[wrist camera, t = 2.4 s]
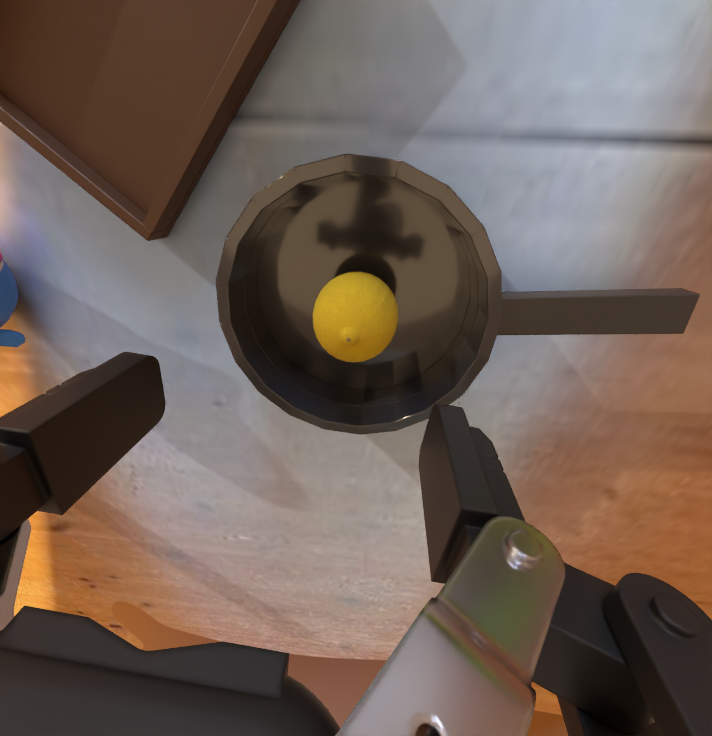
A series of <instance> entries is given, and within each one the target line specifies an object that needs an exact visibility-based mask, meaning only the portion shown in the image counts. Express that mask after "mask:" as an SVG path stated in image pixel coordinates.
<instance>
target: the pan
mask: <svg viewBox="0 0 712 736" xmlns="http://www.w3.org/2000/svg"><path fill="white" fill-rule="evenodd" d="M358 271H361V272H365V273H370V274H372V275H374V276H376V277H378V278H380V279H381V280H382V281H383V282H384V283H385V284H386V285H388V287H389V288H390V290H391V291H392V293H393V294H394V297H395V300H396V303H397V306H398V323H397V328H396V332H395V334H394V336H393V338H392V340H391V342H390V343H389V345H388V346H387V347H386V348H385V349H384V350H383V351H382V352H381V353H380V354H378V355H377V356H375V357H374V358H371V359H369V360H366V361H362V362H346V361H343V360H340V359H337V358H335V357H334V356H332V355H330V354H329V353H328V352H327V351H326V350H325V349H324V348H323V347H322V346H321V344H320V342H319V341H318V339H317V337H316V334H315V331H314V328H313V310H314V305H315V301H316V299H317V297H318V295H319V293H320V291H321V290H322V289H323V288H324V286H325V285H326V284H327V283H328V282H329V281H331V280H332V279H334V278H335V277H337V276H339V275H341V274H344V273H348V272H358ZM216 289H217V300H218V311H219V322H220V325H221V328H222V330H223V333H224V335H225V338H226V340H227V343H228V345H229V347H230V350H231V352H232V355H233V357H234V360H235V362H236V363H237V365H238V366H239V367H240V368H241V370H242V371H243V372H244V373H245V375H246V376H247V377H248V379H249V380H250V381H251V382H252V384H253V385H254V386H255V388H256V389H257V390H258V391H259V392H260V393H261V394H262V395H264V396H265V397H266V398H268V399H269V400H270V401H272V402H273V403H274V404H276V405H277V406H278V407H280V408H281V409H282V410H284V411H285V412H286V413H288V414H290V415H291V416H294V417H296V418H298V419H301V420H303V421H306V422H308V423H310V424H313V425H315V426H318V427H320V428H322V429H327V430H333V431H340V432H347V433H354V434H370V433H379V432H389V431H397V430H399V429H402V428H405V427H407V426H410V425H413V424H415V423H418V422H420V421H423V420H426V419H428V418H429V417H430V414H431V410H432V408H433V405H434V404H435V403H437V404H443V405H449V404H451V403H452V402H453V401H455V400H456V399H457V398H459V397H460V396H461V395H463V393H465V391H466V390H467V389H468V387H469V386H470V385H471V383H472V382H473V380H474V379H475V378H476V376H477V375H478V374H479V372H480V371H481V370H482V368H483V367H484V366H485V364H486V363H487V361H488V360H489V357H490V354H491V351H492V348H493V345H494V342H495V339H496V336H497V333H498V330H499V327H500V324H501V321H502V320H501V319H502V283H501V270H500V268H499V265H498V262H497V260H496V257H495V254H494V252H493V249H492V246H491V244H490V241H489V238H488V236H487V233H486V230H485V228H484V227H483V225H482V223H481V222H480V221H479V220H478V219H477V218H476V216H475V215H474V214H473V213H472V212H471V211H470V210H469V208H468V207H467V206H466V205H465V204H464V203H463V202H462V200H461V199H460V198H459V197H458V196H457V195H456V193H455V192H454V191H453V190H452V189H451V188H450V187H449V186H448V185H446V184H444V183H442V182H440V181H439V180H437V179H435V178H433V177H431V176H429V175H427V174H425V173H424V172H422V171H420V170H418V169H416V168H414V167H412V166H410V165H409V164H407V163H405V162H403V161H400V160H395V159H386V158H378V157H370V156H362V155H353V154H342V155H338V156H335V157H331V158H327V159H323V160H319V161H315V162H311V163H308V164H304V165H300V166H296V167H294V168H292V169H290V170H289V171H287V172H286V173H285V174H283V175H282V176H281V177H279V178H278V179H276V180H275V181H274V182H272V183H271V184H270V185H268V186H267V187H265V188H264V189H263V190H261V191H260V192H258V193H257V194H256V195H254V196H253V198H252V199H251V200H250V202H249V203H248V205H247V206H246V208H245V209H244V211H243V212H242V214H241V215H240V217H239V218H238V220H237V221H236V223H235V225H234V226H233V228H232V229H231V231H230V232H229V234H228V235H227V238H226V240H225V244H224V248H223V252H222V257H221V261H220V265H219V269H218V273H217V278H216Z"/></svg>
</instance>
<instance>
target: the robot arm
mask: <svg viewBox="0 0 712 736" xmlns="http://www.w3.org/2000/svg"><path fill="white" fill-rule="evenodd" d="M164 410H165V397H164V391H163V384H162V378H161V372H160V366H159V362H158V360H157V359H156V358H155V357H154V356H149V355H143V354H137V353H131V352H123V353H121V354H119V355H117V356H115V357H114V358H112V359H110V360H108V361H107V362H105V363H103V364H101V365H100V366H98V367H96V368H93V369H90V370H87V371H84V372H81V373H79V374H77V375H75V376H74V377H72V378H70V379H68V380H66V381H65V382H63V383H62V385H61V386H60V385H57V386H56V387H54V388H52V389H50V390H48V391H47V392H46V394H41V395H40V396H38V397H36V398H34V399H32V400H31V401H29V402H27V403H25V404H23V405H22V406H20V407H18V408H16V409H14V410H13V411H11V412H9V413H7V414H6V415H4V416H2V417H0V736H527V733H528V729H529V726H530V723H531V719H532V715H533V711H534V707H535V701H536V692H535V690H534V689H533V688H532V687H531V682H532V681H533V682H534V683H536V684H538V685H540V686H541V687H543V688H545V689H547V690H548V691H550V692H552V693H553V694H555V695H557V698H558V701H559V705H560V708H561V711H562V715H563V718H564V722H565V725H566V728H567V732H568V735H569V736H712V620H711V619H710V618H709V617H708V616H707V615H706V614H705V613H704V611H702V610H701V609H700V608H699V607H698V606H697V605H696V604H695V603H694V602H693V601H692V600H690V599H689V598H688V597H687V596H685V595H684V594H683V593H681V592H680V591H678V590H677V589H675V588H674V587H672V586H671V585H669V584H667V583H665V582H663V581H661V580H660V579H657V578H655V577H652V576H649V575H646V574H641V573H630V574H627V575H625V576H624V577H622V579H621V580H620V581H619V582H618V583H617V584H616V585H615V586H614V585H612V584H610V583H607V582H605V581H603V580H601V579H599V578H596V577H594V576H592V575H590V574H587V573H585V572H583V571H581V570H579V569H576V568H574V567H572V566H570V565H568V564H566V563H565V562H563V560H562V557H561V555H560V553H559V552H558V550H557V548H556V547H555V546H554V545H553V543H552V542H551V541H550V540H549V539H548V538H547V537H546V536H545V535H544V534H543V533H542V532H540V531H539V530H538V529H536V528H535V527H533V526H532V525H530V524H528V523H526V522H525V519H524V517H523V515H522V512H521V510H520V508H519V505H518V503H517V500H516V498H515V496H514V493H513V491H512V489H511V486H510V484H509V481H508V479H507V477H506V474H505V473H504V472H503V467H502V465H501V462H500V460H498V455H497V453H496V451H495V448H494V446H493V443H492V442H491V441H490V439H489V438H488V437H487V436H486V435H485V434H484V433H483V432H482V431H481V430H480V429H479V428H474V427H469V424H468V421H467V418H466V415H465V413H464V410H463V408H461V407H455V406H449V405H443V404H437V403H435V404H434V405H433V408H432V410H431V414H430V417H429V420H428V424H427V427H426V431H425V434H424V438H423V441H422V444H421V449H420V455H419V472H420V481H421V490H422V499H423V508H424V518H425V527H426V536H427V545H428V554H429V564H430V573H431V581H433V582H438V583H444V584H445V585H444V587H443V588H442V590H441V591H440V592H439V594H438V595H437V596H436V598H431V599H430V600H429V601H428V603H427V604H426V605H425V607H424V608H423V609H422V611H421V612H420V614H419V615H418V616H417V618H416V619H415V621H414V622H413V624H412V625H411V627H410V628H409V630H408V631H407V632H406V634H405V635H404V637H403V638H402V640H401V641H400V643H399V644H398V646H397V647H396V648H395V650H394V651H393V653H392V654H391V656H390V657H389V659H388V660H387V661H386V663H385V665H384V666H383V667H382V669H381V670H380V672H379V673H378V675H377V676H376V678H375V679H374V680H373V682H372V683H371V685H370V686H369V688H368V689H367V691H366V692H365V693H364V695H363V696H362V698H361V699H360V701H359V702H358V704H357V705H356V707H355V708H354V710H353V711H352V712H351V714H350V715H349V717H348V718H347V720H346V721H345V722H344V724H343V725H342V727H341V728H340V727H339V725H338V724H337V723H336V721H335V720H334V718H333V717H332V715H331V714H330V712H329V711H328V709H327V708H326V707H325V706H324V705H323V704H322V702H321V701H320V700H319V699H318V698H317V697H316V696H315V695H314V694H313V693H312V692H311V691H310V690H308V689H307V688H306V687H305V686H304V685H303V684H301V683H300V682H298V681H296V680H295V679H293V678H292V677H290V676H288V675H287V673H288V662H289V653H284V652H278V651H273V650H267V649H261V648H256V647H250V646H245V645H239V644H234V643H228V642H217V643H209V644H201V645H193V646H186V647H178V648H170V649H162V650H155V651H144V650H140V649H138V648H137V647H135V646H133V645H132V644H130V643H129V642H127V641H125V640H124V639H122V638H121V637H119V636H117V635H116V634H114V633H113V632H111V631H110V630H108V629H106V628H105V627H103V626H102V625H100V624H98V623H97V622H95V621H94V620H92V619H91V618H89V617H84V616H79V615H73V614H68V613H62V612H57V611H51V610H45V609H40V608H34V607H29V606H24V607H23V608H22V609H21V610H20V611H19V612H18V613H17V614H16V616H15V617H14V603H15V599H16V594H17V590H18V585H19V581H20V576H21V572H22V568H23V563H24V559H25V554H26V550H27V545H28V541H29V536H30V532H31V525H30V522H29V520H28V518H29V517H30V516H31V515H33V514H34V513H35V512H36V511H42V512H48V513H53V514H59V515H63V514H64V513H65V512H66V511H67V510H68V509H69V508H70V507H71V506H72V505H73V504H74V503H75V502H76V501H77V500H78V499H80V498H81V497H82V496H83V495H84V494H85V493H86V492H87V491H88V490H89V489H90V488H91V487H92V486H93V485H94V484H95V483H96V482H97V481H98V480H99V479H100V478H101V477H102V476H103V475H104V474H105V473H107V472H108V471H109V470H110V469H111V468H112V467H113V466H114V465H115V464H116V463H117V462H118V461H119V460H120V459H121V458H122V457H123V456H124V455H125V454H126V453H127V452H128V451H129V450H130V449H131V448H133V447H134V446H135V445H136V444H137V443H138V442H139V441H140V440H141V439H142V438H143V437H144V436H145V435H146V434H147V433H148V432H149V431H150V430H151V429H152V428H153V427H154V426H155V425H156V424H157V423H158V422H159V421H160V420H161V418H162V416H163V413H164Z"/></svg>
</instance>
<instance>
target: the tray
mask: <svg viewBox="0 0 712 736" xmlns="http://www.w3.org/2000/svg"><path fill="white" fill-rule="evenodd" d="M299 1H300V0H0V122H2V123H3V124H4V125H5V126H7V127H8V128H9V129H10V130H12V131H13V132H14V133H15V134H16V135H18V136H19V137H20V138H21V139H23V140H24V141H25V142H26V143H28V144H29V145H30V146H31V147H33V148H34V149H35V150H36V151H37V152H39V153H40V154H41V155H42V156H44V157H45V158H46V159H47V160H49V161H50V162H51V163H52V164H53V165H55V166H56V167H57V168H58V169H60V170H61V171H62V172H63V173H65V174H66V175H67V176H68V177H70V178H71V179H72V180H73V181H74V182H76V183H77V184H78V185H79V186H81V187H82V188H83V189H84V190H86V191H87V192H88V193H89V194H90V195H92V196H93V197H94V198H95V199H97V200H98V201H99V202H100V203H102V204H103V205H104V206H105V207H107V208H108V209H109V210H110V211H111V212H113V213H114V214H115V215H116V216H118V217H119V218H120V219H121V220H123V221H124V222H125V223H126V224H128V225H129V226H130V227H131V228H132V229H134V230H135V231H136V232H137V233H139V234H140V235H141V236H142V237H144V238H145V239H146V240H148V241H150V240H155V239H161V238H166V237H167V236H168V234H169V232H170V230H171V228H172V227H173V225H174V223H175V221H176V220H177V218H178V216H179V214H180V212H181V211H182V209H183V207H184V205H185V204H186V202H187V200H188V198H189V196H190V195H191V193H192V191H193V189H194V188H195V186H196V184H197V182H198V180H199V179H200V177H201V175H202V173H203V172H204V170H205V168H206V166H207V164H208V163H209V161H210V159H211V157H212V156H213V154H214V152H215V150H216V148H217V147H218V145H219V143H220V141H221V140H222V138H223V136H224V134H225V132H226V131H227V129H228V127H229V125H230V124H231V122H232V120H233V118H234V116H235V115H236V113H237V111H238V109H239V108H240V106H241V104H242V102H243V100H244V99H245V97H246V95H247V93H248V92H249V90H250V88H251V86H252V85H253V83H254V81H255V79H256V77H257V76H258V74H259V72H260V70H261V69H262V67H263V65H264V63H265V61H266V60H267V58H268V56H269V54H270V53H271V51H272V49H273V47H274V45H275V44H276V42H277V40H278V38H279V37H280V35H281V33H282V31H283V29H284V28H285V26H286V24H287V22H288V21H289V19H290V17H291V15H292V13H293V12H294V10H295V8H296V6H297V5H298V3H299Z"/></svg>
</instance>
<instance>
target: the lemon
mask: <svg viewBox="0 0 712 736" xmlns="http://www.w3.org/2000/svg"><path fill="white" fill-rule="evenodd" d="M397 323H398V306H397V303H396V300H395V297H394V294H393V293H392V291H391V290H390V288H389V287H388V285H386V284H385V283H384V282H383V281H382V280H381V279H380V278H378V277H376V276H374V275H372V274H370V273H365V272H361V271H358V272H348V273H344V274H341V275H339V276H337V277H335V278H334V279H332V280H331V281H329V282H328V283H327V284H326V285H325V286H324V288H323V289H322V290H321V291H320V293H319V295H318V297H317V299H316V301H315V305H314V310H313V328H314V331H315V334H316V337H317V339H318V341H319V342H320V344H321V346H322V347H323V348H324V349H325V350H326V351H327V352H328V353H329V354H330V355H332V356H334V357H335V358H337V359H340V360H343V361H346V362H362V361H366V360H369V359H371V358H374V357H375V356H377V355H378V354H380V353H381V352H382V351H383V350H384V349H385V348H386V347H387V346H388V345H389V343H390V342H391V340H392V338H393V336H394V334H395V332H396V328H397Z"/></svg>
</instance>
